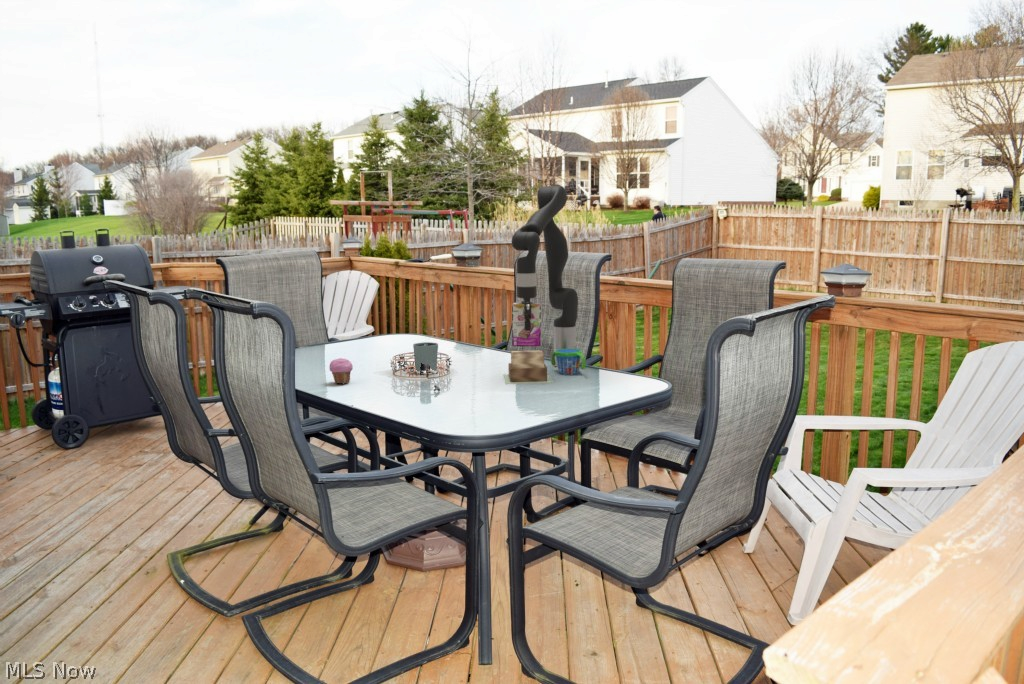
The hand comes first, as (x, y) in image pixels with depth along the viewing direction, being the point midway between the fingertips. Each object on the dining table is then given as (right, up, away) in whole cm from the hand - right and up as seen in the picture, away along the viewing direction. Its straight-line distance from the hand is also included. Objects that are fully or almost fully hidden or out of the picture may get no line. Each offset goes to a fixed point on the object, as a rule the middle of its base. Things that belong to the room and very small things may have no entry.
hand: (527, 329), depth 299 cm
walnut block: (0, -19, +3) cm, 19 cm away
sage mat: (0, -20, +3) cm, 20 cm away
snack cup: (+17, -19, +13) cm, 28 cm away
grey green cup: (-41, -18, +24) cm, 50 cm away
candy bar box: (0, -7, +1) cm, 7 cm away
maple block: (0, -14, +2) cm, 14 cm away
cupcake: (-72, -21, +5) cm, 75 cm away
